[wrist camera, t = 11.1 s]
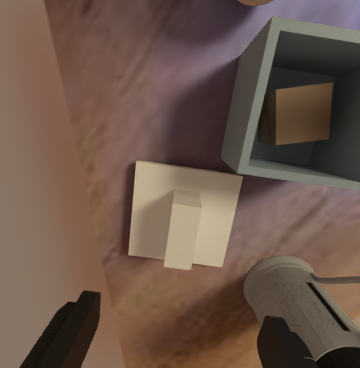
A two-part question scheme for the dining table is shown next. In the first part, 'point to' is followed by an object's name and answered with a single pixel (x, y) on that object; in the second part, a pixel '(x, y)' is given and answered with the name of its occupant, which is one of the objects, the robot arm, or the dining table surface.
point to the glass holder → (305, 308)
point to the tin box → (295, 77)
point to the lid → (182, 214)
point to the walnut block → (296, 114)
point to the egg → (254, 2)
